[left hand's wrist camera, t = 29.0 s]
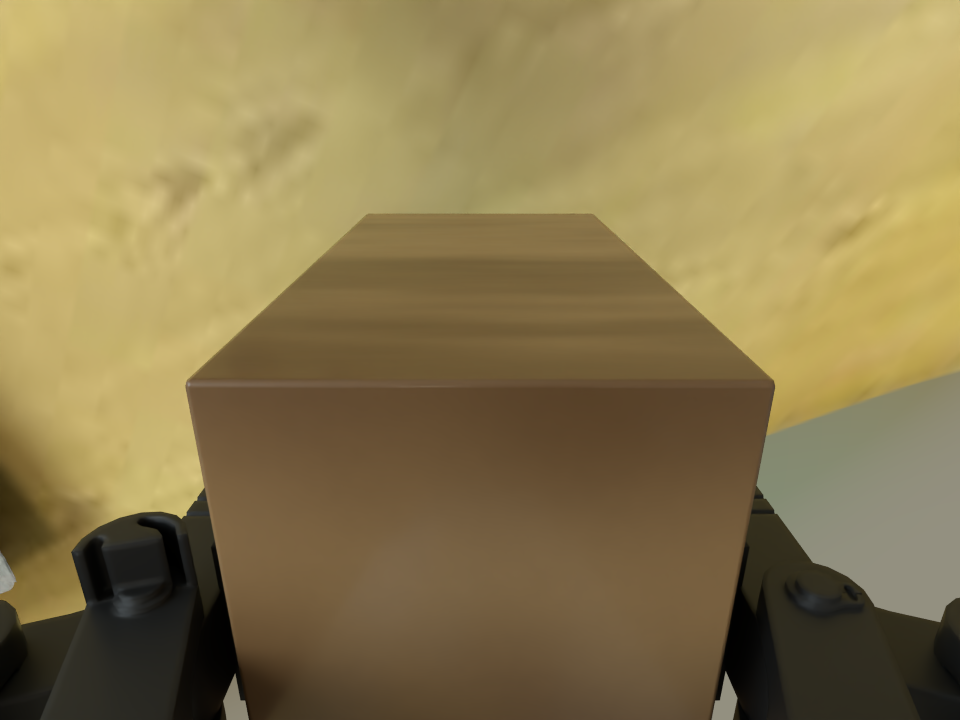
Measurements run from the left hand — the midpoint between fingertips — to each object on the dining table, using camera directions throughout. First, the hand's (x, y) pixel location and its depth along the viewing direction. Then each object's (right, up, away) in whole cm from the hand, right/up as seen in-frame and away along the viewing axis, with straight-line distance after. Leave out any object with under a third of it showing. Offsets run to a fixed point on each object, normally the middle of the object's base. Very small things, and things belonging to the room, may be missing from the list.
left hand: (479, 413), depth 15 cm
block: (0, +1, +2) cm, 2 cm away
